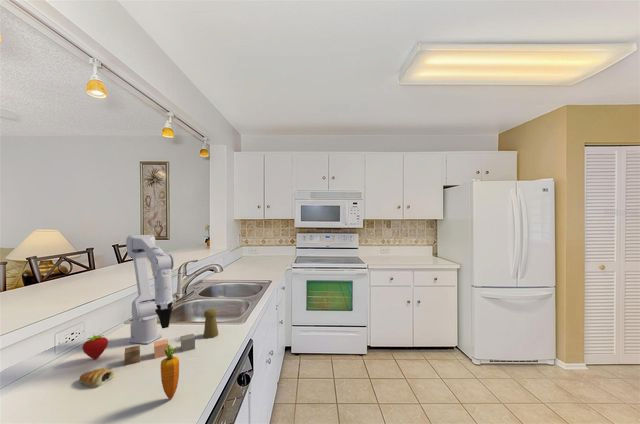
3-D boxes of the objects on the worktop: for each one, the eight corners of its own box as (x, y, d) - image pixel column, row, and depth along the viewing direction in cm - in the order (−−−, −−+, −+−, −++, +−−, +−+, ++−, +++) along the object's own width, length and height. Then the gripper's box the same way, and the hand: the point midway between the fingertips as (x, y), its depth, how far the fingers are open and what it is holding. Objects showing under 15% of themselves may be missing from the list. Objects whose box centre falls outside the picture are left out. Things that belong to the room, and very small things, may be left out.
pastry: (72, 386, 91) (72, 373, 91) (93, 374, 97) (92, 363, 97) (97, 389, 89) (97, 376, 89) (117, 377, 95) (116, 365, 96)
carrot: (165, 394, 85) (164, 342, 85) (183, 392, 86) (182, 341, 86) (157, 405, 80) (156, 350, 80) (176, 404, 81) (175, 348, 81)
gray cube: (182, 352, 111) (182, 340, 111) (180, 347, 115) (180, 336, 115) (195, 349, 114) (194, 337, 114) (193, 344, 118) (193, 333, 118)
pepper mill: (220, 332, 129) (220, 307, 129) (214, 338, 123) (214, 311, 123) (207, 332, 130) (207, 307, 130) (200, 338, 124) (200, 311, 124)
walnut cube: (124, 366, 102) (124, 353, 102) (125, 360, 106) (125, 348, 106) (140, 362, 104) (139, 349, 104) (140, 357, 108) (139, 345, 108)
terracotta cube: (154, 358, 107) (154, 346, 107) (154, 354, 111) (154, 341, 111) (168, 355, 109) (168, 343, 109) (167, 350, 113) (167, 339, 113)
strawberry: (108, 359, 107) (108, 331, 107) (81, 366, 102) (81, 337, 102) (108, 353, 112) (108, 326, 112) (83, 359, 107) (82, 331, 107)
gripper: (175, 288, 106) (177, 327, 105) (175, 283, 119) (176, 318, 118) (153, 292, 102) (155, 332, 102) (154, 286, 115) (156, 322, 115)
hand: (165, 325), depth 109 cm, fingers open, 7 cm apart
